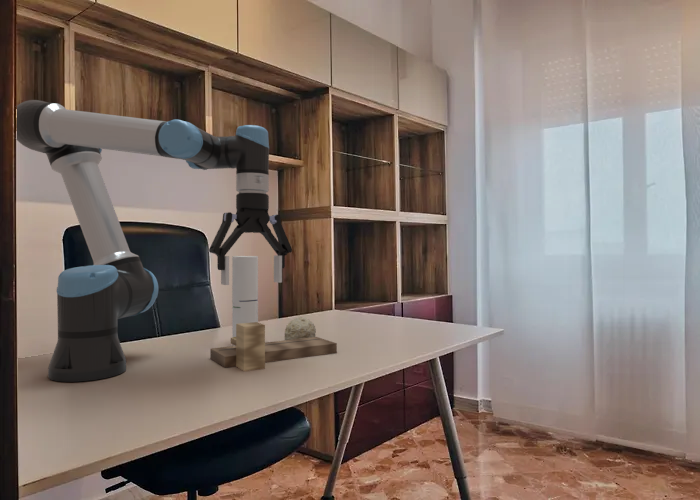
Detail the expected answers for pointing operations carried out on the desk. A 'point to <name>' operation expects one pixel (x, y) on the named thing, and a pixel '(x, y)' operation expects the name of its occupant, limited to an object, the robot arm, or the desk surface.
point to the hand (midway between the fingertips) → (252, 283)
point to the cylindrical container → (244, 290)
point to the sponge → (299, 329)
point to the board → (278, 350)
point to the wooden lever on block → (250, 346)
